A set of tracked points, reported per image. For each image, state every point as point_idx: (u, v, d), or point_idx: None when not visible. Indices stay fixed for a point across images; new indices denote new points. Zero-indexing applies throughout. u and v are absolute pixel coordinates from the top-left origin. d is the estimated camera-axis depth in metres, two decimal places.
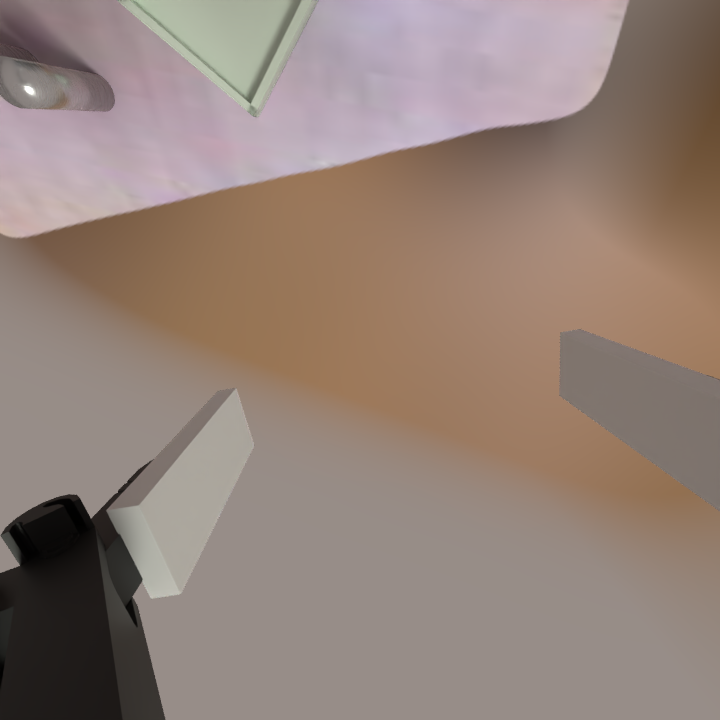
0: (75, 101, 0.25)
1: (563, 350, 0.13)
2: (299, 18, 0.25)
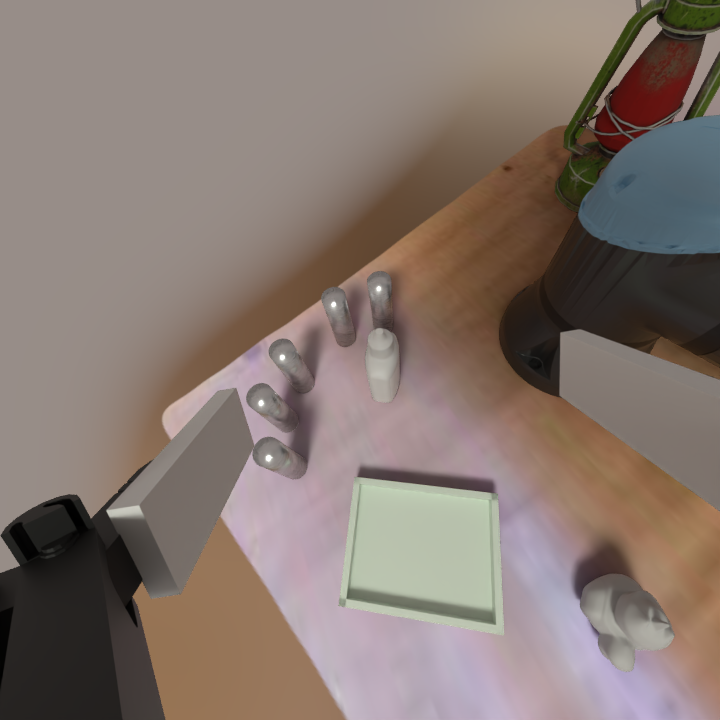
0: (278, 472, 0.33)
1: (563, 350, 0.13)
2: (423, 618, 0.29)
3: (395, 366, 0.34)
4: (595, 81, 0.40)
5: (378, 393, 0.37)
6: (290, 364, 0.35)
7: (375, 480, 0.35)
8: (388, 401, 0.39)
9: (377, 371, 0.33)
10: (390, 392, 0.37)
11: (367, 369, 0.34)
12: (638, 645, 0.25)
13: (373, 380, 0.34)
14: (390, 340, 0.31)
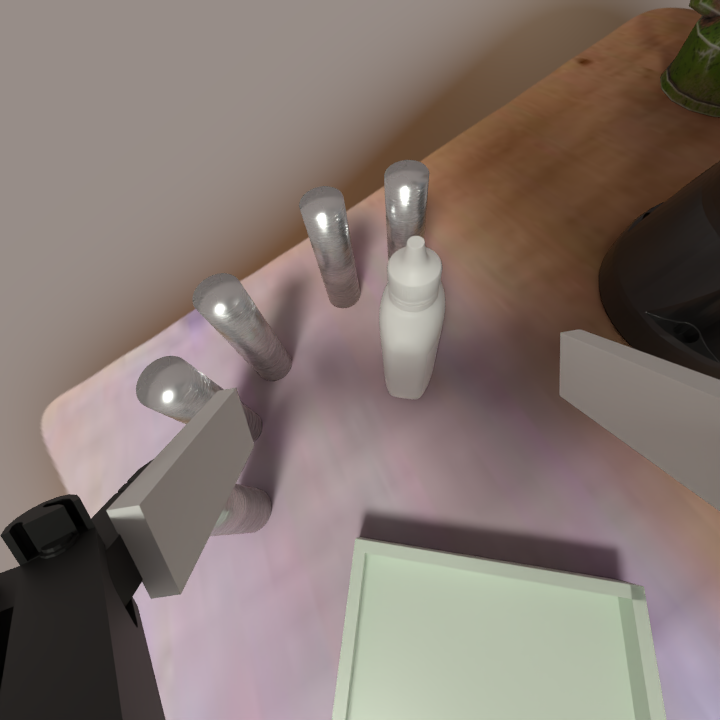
0: None
1: (563, 350, 0.13)
2: None
3: (439, 328, 0.17)
4: None
5: (400, 382, 0.20)
6: (236, 322, 0.18)
7: (395, 547, 0.18)
8: (416, 397, 0.23)
9: (404, 336, 0.17)
10: (422, 380, 0.20)
11: (384, 333, 0.17)
12: None
13: (396, 355, 0.17)
14: (436, 267, 0.15)
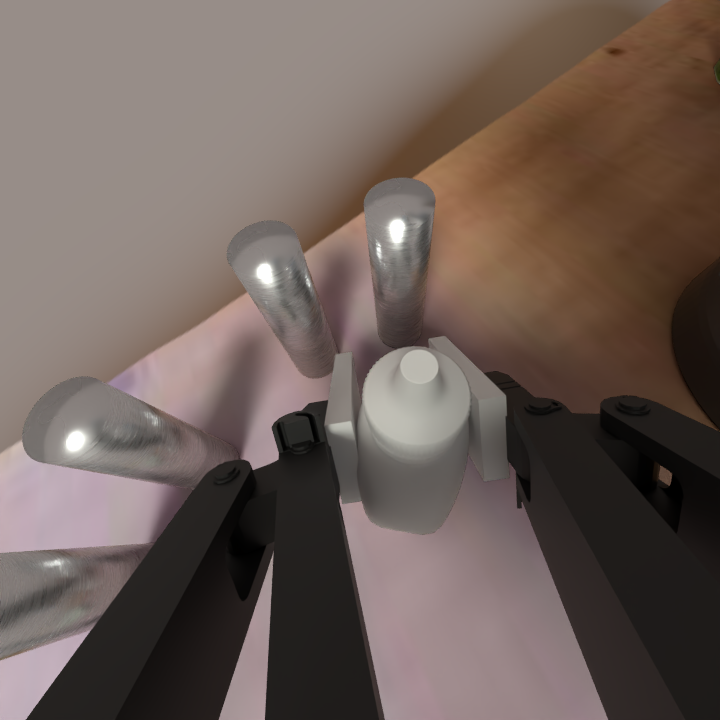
0: None
1: None
2: None
3: (461, 479, 0.10)
4: None
5: None
6: (107, 462, 0.10)
7: None
8: None
9: (399, 505, 0.09)
10: None
11: (362, 490, 0.10)
12: None
13: (385, 527, 0.10)
14: (462, 401, 0.07)
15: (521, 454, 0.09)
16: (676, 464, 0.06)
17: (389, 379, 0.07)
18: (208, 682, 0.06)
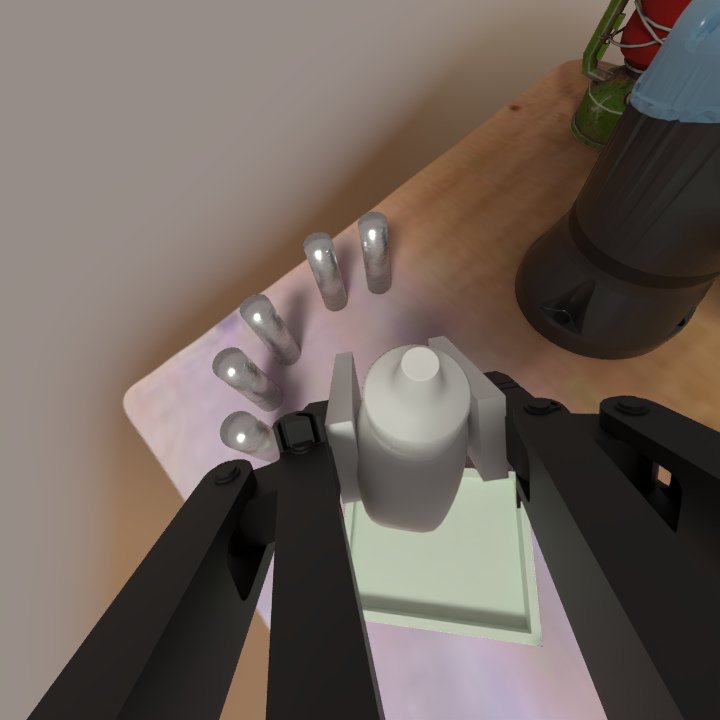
0: (256, 456, 0.27)
1: None
2: (441, 628, 0.23)
3: (461, 476, 0.10)
4: None
5: None
6: (267, 325, 0.28)
7: None
8: None
9: (400, 503, 0.09)
10: None
11: (362, 488, 0.10)
12: None
13: (385, 526, 0.10)
14: (462, 398, 0.07)
15: (520, 454, 0.09)
16: (675, 464, 0.06)
17: (390, 377, 0.07)
18: (209, 682, 0.06)
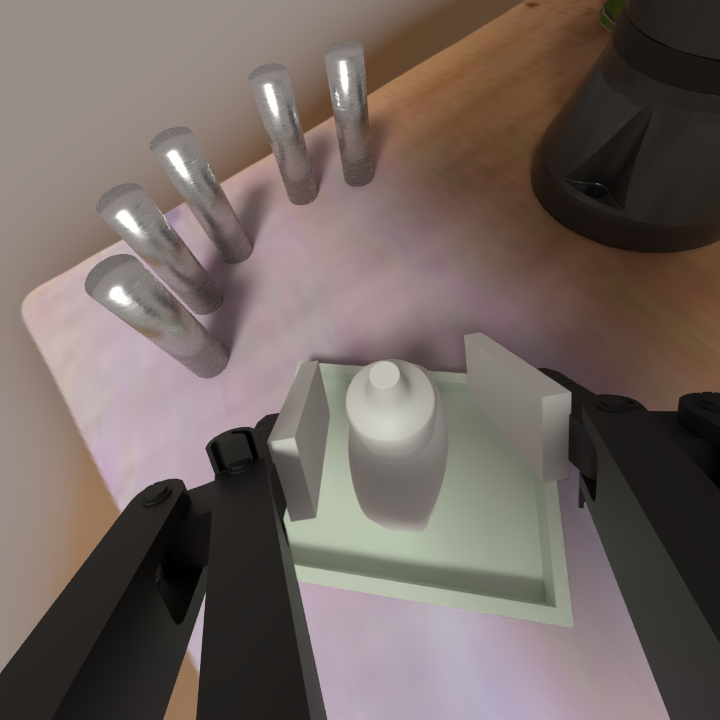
0: (156, 341, 0.19)
1: (466, 350, 0.15)
2: (411, 594, 0.15)
3: (442, 472, 0.11)
4: None
5: (394, 528, 0.14)
6: (189, 170, 0.20)
7: (332, 365, 0.20)
8: None
9: (388, 498, 0.10)
10: (426, 524, 0.14)
11: (356, 488, 0.11)
12: None
13: (379, 520, 0.11)
14: (427, 401, 0.09)
15: (587, 452, 0.08)
16: None
17: (365, 387, 0.09)
18: (140, 713, 0.05)
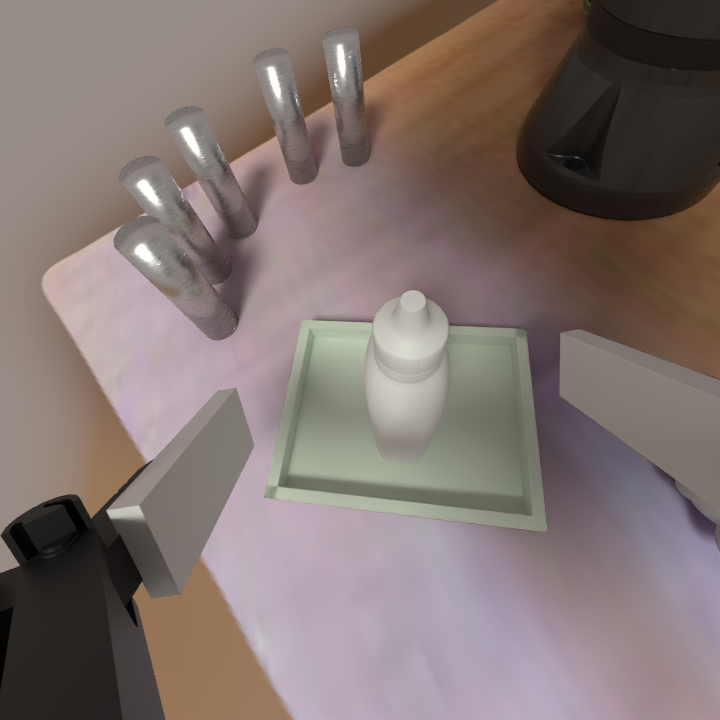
0: (175, 299, 0.21)
1: (563, 350, 0.13)
2: (406, 509, 0.17)
3: (446, 397, 0.13)
4: None
5: (396, 454, 0.16)
6: (201, 145, 0.22)
7: (334, 322, 0.22)
8: (415, 461, 0.18)
9: (402, 416, 0.12)
10: (424, 450, 0.16)
11: (373, 410, 0.13)
12: None
13: (391, 437, 0.13)
14: (442, 328, 0.10)
15: None
16: None
17: (391, 316, 0.10)
18: None
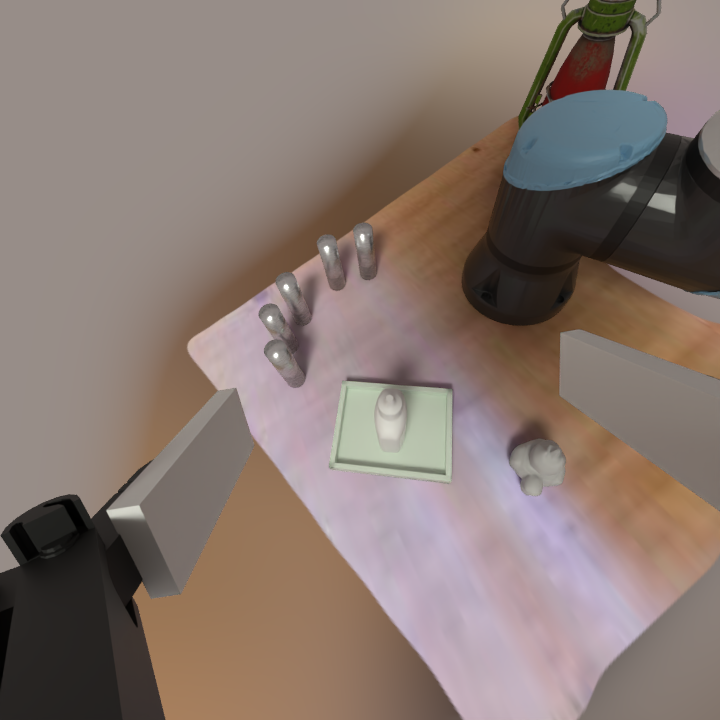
0: (283, 372, 0.42)
1: (563, 350, 0.13)
2: (392, 472, 0.39)
3: (404, 425, 0.35)
4: (538, 74, 0.50)
5: (387, 447, 0.38)
6: (292, 292, 0.44)
7: (358, 382, 0.44)
8: (396, 451, 0.40)
9: (388, 432, 0.34)
10: (399, 445, 0.38)
11: (377, 429, 0.35)
12: (542, 473, 0.34)
13: (384, 439, 0.35)
14: (400, 404, 0.32)
15: None
16: None
17: (383, 400, 0.32)
18: None
